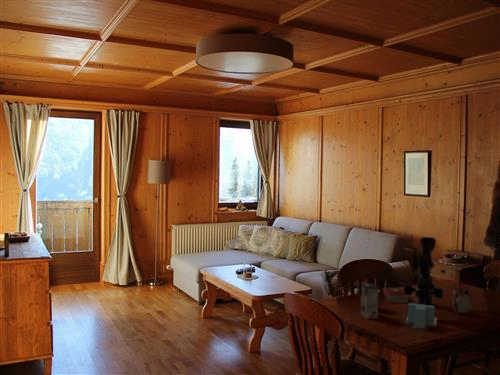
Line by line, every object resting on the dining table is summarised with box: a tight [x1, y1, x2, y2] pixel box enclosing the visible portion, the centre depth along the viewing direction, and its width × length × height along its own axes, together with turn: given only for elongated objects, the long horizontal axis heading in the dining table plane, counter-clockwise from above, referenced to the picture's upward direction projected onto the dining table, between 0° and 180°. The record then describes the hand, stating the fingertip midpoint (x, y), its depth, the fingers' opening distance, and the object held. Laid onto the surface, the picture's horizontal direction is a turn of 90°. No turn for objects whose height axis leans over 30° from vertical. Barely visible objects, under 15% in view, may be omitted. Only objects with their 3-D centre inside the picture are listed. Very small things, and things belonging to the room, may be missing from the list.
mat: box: [405, 316, 438, 330], centre depth 232 cm, size 21×14×1 cm, turn 156°
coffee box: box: [360, 282, 379, 319], centre depth 242 cm, size 9×6×16 cm
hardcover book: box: [382, 287, 410, 304], centre depth 278 cm, size 12×21×4 cm, turn 171°
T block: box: [407, 302, 435, 330], centre depth 227 cm, size 9×12×9 cm
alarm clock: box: [450, 284, 473, 315], centre depth 249 cm, size 11×5×15 cm, turn 105°
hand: (422, 305), depth 237 cm, fingers closed
